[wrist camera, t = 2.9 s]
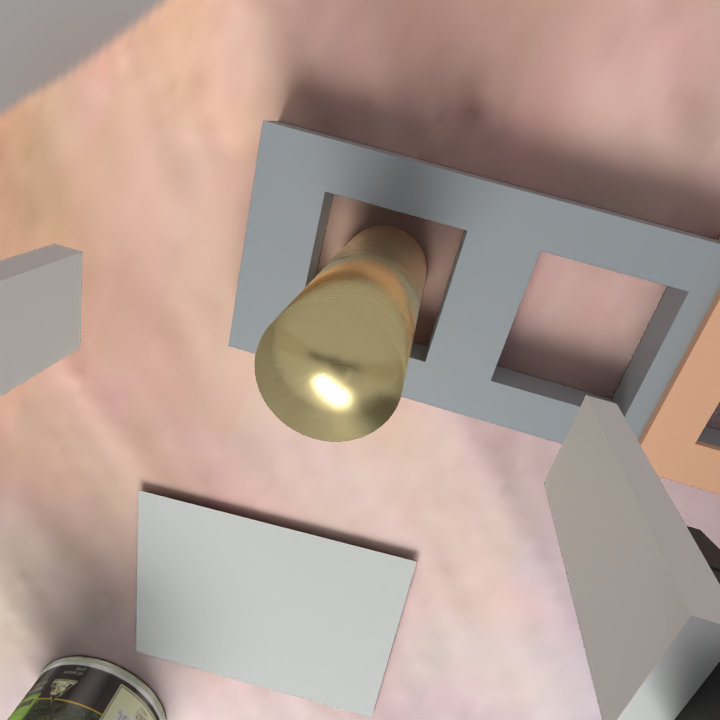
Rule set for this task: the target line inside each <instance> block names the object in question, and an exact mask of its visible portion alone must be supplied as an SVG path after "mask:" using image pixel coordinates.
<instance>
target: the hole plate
mask: <svg viewBox="0 0 720 720" xmlns="http://www.w3.org/2000/svg"><path fill="white" fill-rule="evenodd" d="M333 194H336V195H340V196H343V197H347V198H351V199H354V200H358V201H361V202H365V203H369V204H372V205H376V206H380V207H383V208H387V209H390V210H394V211H398V212H401V213H405V214H409V215H412V216H416V217H419V218H423V219H427V220H430V221H434V222H438V223H441V224H445V225H448V226H452V227H456V228H459V229H463V230H464V233H463V236H462V240H461V243H460V246H459V249H458V252H457V255H456V258H455V261H454V265H453V268H452V271H451V274H450V277H449V280H448V283H447V287H446V290H445V293H444V296H443V299H442V302H441V305H440V309H439V312H438V315H437V318H436V321H435V324H434V327H433V330H432V334H431V337H430V340H429V343H428V346H426V345H422V344H419V343H415V342H412V347H411V352H410V357H409V361H408V366H407V371H406V376H405V381H404V385H403V390H402V394H401V397H404V398H408V399H411V400H414V401H418V402H421V403H425V404H428V405H431V406H435V407H438V408H442V409H445V410H448V411H452V412H455V413H459V414H462V415H465V416H469V417H472V418H476V419H479V420H482V421H486V422H489V423H493V424H496V425H499V426H503V427H506V428H510V429H513V430H516V431H520V432H523V433H527V434H530V435H533V436H537V437H540V438H544V439H547V440H551V441H554V442H557V443H561V444H563V442H564V440H565V438H566V436H567V434H568V432H569V430H570V428H571V426H572V423H573V421H574V419H575V417H576V415H577V413H578V411H579V409H580V407H581V404H582V402H583V400H584V398H585V396H586V395H588V396H591V397H595V398H598V399H602V400H605V401H609V402H612V403H616V404H617V405H618V407H619V409H620V410H621V412H622V414H623V416H624V417H625V419H626V421H627V423H628V424H629V426H630V428H631V430H632V431H633V433H634V435H635V437H636V438H637V440H638V442H639V444H640V446H641V447H642V449H643V451H644V453H645V454H646V456H647V458H648V460H649V461H650V463H651V465H652V467H653V468H654V470H655V472H656V474H657V475H658V476H659V477H662V478H666V479H669V480H672V481H676V482H679V483H683V484H686V485H689V486H693V487H696V488H700V489H703V490H706V491H710V492H713V493H717V494H720V430H718V429H714V428H711V427H707V426H706V424H707V422H708V421H709V419H710V417H711V416H712V414H713V412H714V411H715V409H716V407H717V405H718V404H719V402H720V237H719V239H718V240H716V239H712V238H709V237H705V236H701V235H697V234H694V233H690V232H686V231H683V230H679V229H675V228H672V227H668V226H664V225H660V224H657V223H653V222H649V221H646V220H642V219H638V218H635V217H631V216H627V215H623V214H620V213H616V212H612V211H609V210H605V209H601V208H597V207H594V206H590V205H586V204H583V203H579V202H575V201H572V200H568V199H564V198H560V197H557V196H553V195H549V194H546V193H542V192H538V191H534V190H531V189H527V188H523V187H520V186H516V185H512V184H509V183H505V182H501V181H497V180H494V179H490V178H486V177H483V176H479V175H475V174H472V173H468V172H464V171H460V170H457V169H453V168H449V167H446V166H442V165H438V164H434V163H431V162H427V161H423V160H420V159H416V158H412V157H409V156H405V155H401V154H397V153H394V152H390V151H386V150H383V149H379V148H375V147H372V146H368V145H364V144H360V143H357V142H353V141H349V140H346V139H342V138H338V137H334V136H331V135H327V134H323V133H320V132H316V131H312V130H309V129H305V128H301V127H297V126H294V125H290V124H286V123H283V122H279V121H263V125H262V131H261V138H260V144H259V151H258V157H257V164H256V170H255V177H254V183H253V190H252V196H251V203H250V209H249V216H248V222H247V229H246V235H245V242H244V248H243V255H242V261H241V268H240V274H239V281H238V287H237V294H236V300H235V307H234V313H233V320H232V327H231V333H230V340H229V346H230V347H234V348H237V349H241V350H244V351H248V352H251V353H254V354H256V351H257V347H258V344H259V342H260V339H261V337H262V335H263V334H264V332H265V330H266V329H267V328H268V327H269V325H270V324H271V323H272V322H273V321H274V320H275V319H276V318H277V317H278V316H279V315H280V314H281V312H282V311H283V310H284V309H285V308H286V307H287V306H288V305H289V304H290V303H291V302H292V301H293V300H294V299H295V298H296V297H297V296H298V295H299V294H300V293H301V292H302V290H303V289H304V288H305V287H306V286H307V285H308V284H309V283H310V282H311V281H312V280H313V279H314V278H315V277H316V273H317V268H318V263H319V259H320V254H321V249H322V245H323V240H324V235H325V231H326V226H327V221H328V217H329V212H330V207H331V203H332V198H333ZM540 251H543V252H546V253H550V254H554V255H557V256H561V257H565V258H568V259H572V260H575V261H579V262H583V263H586V264H590V265H594V266H597V267H601V268H604V269H608V270H612V271H615V272H619V273H623V274H626V275H630V276H633V277H637V278H641V279H644V280H648V281H652V282H655V283H659V284H662V285H666V286H668V287H667V289H666V291H665V293H664V295H663V297H662V299H661V301H660V303H659V305H658V307H657V309H656V311H655V313H654V315H653V317H652V319H651V321H650V323H649V325H648V327H647V329H646V331H645V333H644V335H643V337H642V339H641V341H640V343H639V345H638V347H637V349H636V351H635V353H634V355H633V357H632V360H631V362H630V364H629V366H628V368H627V370H626V372H625V374H624V376H623V378H622V380H621V382H620V384H619V386H618V388H617V390H616V392H615V394H614V396H613V398H612V399H610V398H606V397H603V396H600V395H596V394H593V393H589V392H586V391H582V390H579V389H575V388H572V387H568V386H565V385H561V384H558V383H554V382H551V381H547V380H544V379H540V378H537V377H534V376H530V375H527V374H523V373H520V372H516V371H513V370H509V369H506V368H502V367H499V366H496V365H497V363H498V360H499V357H500V355H501V352H502V350H503V347H504V344H505V342H506V339H507V337H508V334H509V331H510V329H511V326H512V323H513V321H514V318H515V316H516V313H517V310H518V308H519V305H520V303H521V300H522V297H523V295H524V292H525V289H526V287H527V284H528V282H529V279H530V276H531V274H532V271H533V269H534V266H535V263H536V261H537V258H538V255H539V253H540Z"/></svg>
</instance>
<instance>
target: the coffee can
mask: <svg viewBox="0 0 720 720" xmlns="http://www.w3.org/2000/svg"><path fill="white" fill-rule="evenodd" d="M8 720H166V717H165V712H164V709H163V707H162V705H161V704H160V702H159V700H158V698H157V697H156V696H155V694H154V693H153V692H152V690H151V689H150V688H149V687H148V686H147V685H145V684H144V683H143V682H142V681H141V680H140V679H138V678H137V677H135V676H134V675H133V674H131V673H130V672H128V671H126V670H124V669H122V668H121V667H119V666H117V665H114V664H112V663H109V662H107V661H103V660H100V659H96V658H91V657H83V656H73V657H65V658H61V659H58V660H56V661H54V662H52V663H51V664H49V665H48V666H47V667H46V668H45V669H44V670H43V671H42V673H41V675H40V677H39V679H38V680H37V681H36V683H35V684H34V685H33V687H32V688H31V689H30V690H29V692H28V693H27V694H26V696H25V697H24V699H23V700H22V701H21V703H20V704H19V705H18V706H17V708H16V709H15V711H14V712H13V713H12V714H11V716H10V717H9V718H8Z"/></svg>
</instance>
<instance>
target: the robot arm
mask: <svg viewBox="0 0 720 720" xmlns="http://www.w3.org/2000/svg"><path fill="white" fill-rule="evenodd" d="M81 297H82V252H81V251H78V250H74V249H71V248H67V247H64V246H60V245H57V244H52V245H49V246H46V247H43V248H39V249H36V250H33V251H30V252H27V253H23V254H20V255H17V256H14V257H11V258H7V259H4V260H1V261H0V397H1V396H2V395H4V394H5V393H7V392H9V391H10V390H12V389H14V388H15V387H17V386H18V385H20V384H22V383H23V382H25V381H27V380H28V379H30V378H32V377H33V376H35V375H36V374H38V373H40V372H41V371H43V370H45V369H46V368H48V367H50V366H51V365H53V364H54V363H56V362H58V361H59V360H61V359H63V358H64V357H66V356H67V355H69V354H71V353H72V352H74V351H76V350H77V349H79V348H80V342H81ZM544 485H545V489H546V493H547V497H548V501H549V505H550V509H551V513H552V518H553V522H554V526H555V530H556V534H557V538H558V542H559V546H560V550H561V554H562V558H563V562H564V566H565V570H566V574H567V578H568V582H569V587H570V591H571V595H572V599H573V603H574V607H575V611H576V615H577V619H578V623H579V627H580V631H581V635H582V639H583V643H584V647H585V651H586V656H587V660H588V664H589V668H590V672H591V676H592V680H593V684H594V688H595V692H596V696H597V700H598V704H599V708H600V712H601V716H602V720H720V549H719V548H718V547H717V546H716V545H715V544H714V543H713V542H712V541H711V540H710V539H709V538H708V537H707V536H706V535H705V534H704V533H703V532H702V531H701V530H699V529H695V528H692V527H688V526H686V524H685V523H684V521H683V519H682V517H681V516H680V514H679V512H678V510H677V509H676V507H675V505H674V503H673V502H672V500H671V498H670V496H669V495H668V493H667V491H666V489H665V488H664V486H663V484H662V482H661V481H660V479H659V477H658V475H657V474H656V472H655V470H654V468H653V467H652V465H651V463H650V461H649V460H648V458H647V456H646V454H645V453H644V451H643V449H642V447H641V446H640V444H639V442H638V440H637V438H636V437H635V435H634V433H633V431H632V430H631V428H630V426H629V424H628V423H627V421H626V419H625V417H624V416H623V414H622V412H621V410H620V409H619V407H618V405H617V404H616V403H612V402H609V401H605V400H602V399H598V398H595V397H591V396H588V395H586V396H585V398H584V400H583V402H582V404H581V407H580V409H579V411H578V413H577V415H576V417H575V419H574V421H573V423H572V426H571V428H570V430H569V432H568V434H567V436H566V438H565V440H564V442H563V444H562V447H561V449H560V451H559V453H558V455H557V457H556V459H555V461H554V463H553V465H552V468H551V470H550V472H549V474H548V476H547V478H546V480H545V482H544Z"/></svg>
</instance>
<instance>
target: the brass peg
mask: <svg viewBox="0 0 720 720" xmlns="http://www.w3.org/2000/svg"><path fill="white" fill-rule="evenodd" d="M426 275H427V264H426V258H425V255H424V253H423V250H422V248H421V247H420V245H419V244H418V242H417V241H416V240H415V239H414V238H413V237H412V236H411V235H409V234H408V233H407V232H405V231H403V230H401V229H399V228H396V227H392V226H374V227H370V228H367V229H365V230H363V231H361V232H359V233H358V234H357V235H355V236H354V237H353V238H352V239H351V240H350V241H349V242H348V243H347V244H346V245H345V246H344V248H343V249H342V250H341V251H340V252H339V253H338V254H337V255H336V256H335V257H334V258H333V259H332V260H331V261H330V262H329V263H328V264H327V265H326V266H325V267H324V268H323V270H322V271H321V272H320V273H319V274H318V275H317V276H316V277H315V278H314V279H313V280H312V281H311V282H310V283H309V284H308V285H307V286H306V287H305V288H304V289H303V290H302V292H301V293H300V294H299V295H298V296H297V297H296V298H295V299H294V300H293V301H292V302H291V303H290V304H289V305H288V306H287V307H286V308H285V309H284V310H283V311H282V312H281V314H280V315H279V316H278V317H277V318H276V319H275V320H274V321H273V322H272V323H271V324H270V325H269V327H268V328H267V329H266V330H265V332H264V334H263V335H262V337H261V339H260V342H259V344H258V347H257V351H256V355H255V375H256V381H257V384H258V388H259V390H260V393H261V395H262V397H263V399H264V401H265V402H266V404H267V406H268V407H269V408H270V409H271V411H272V412H273V413H274V414H275V415H276V416H277V417H278V418H279V419H280V420H281V421H282V422H283V423H285V424H286V425H287V426H288V427H290V428H292V429H293V430H295V431H297V432H299V433H301V434H303V435H305V436H308V437H311V438H314V439H318V440H323V441H331V442H341V441H349V440H354V439H358V438H361V437H363V436H366V435H368V434H370V433H372V432H374V431H375V430H377V429H378V428H379V427H381V426H382V425H383V424H384V423H385V422H386V421H387V420H388V419H389V418H390V416H391V415H392V414H393V412H394V411H395V409H396V407H397V406H398V403H399V401H400V398H401V394H402V390H403V385H404V381H405V376H406V371H407V366H408V361H409V357H410V352H411V347H412V342H413V338H414V333H415V328H416V323H417V318H418V314H419V309H420V304H421V299H422V295H423V290H424V285H425V280H426Z"/></svg>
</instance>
